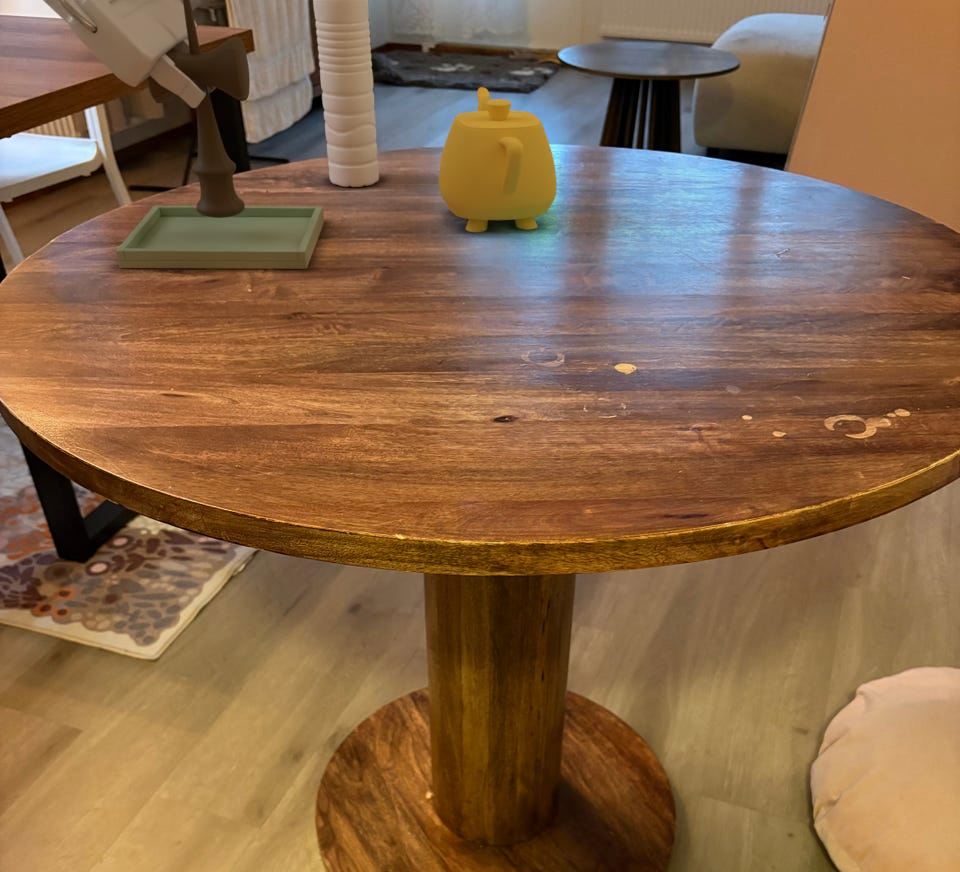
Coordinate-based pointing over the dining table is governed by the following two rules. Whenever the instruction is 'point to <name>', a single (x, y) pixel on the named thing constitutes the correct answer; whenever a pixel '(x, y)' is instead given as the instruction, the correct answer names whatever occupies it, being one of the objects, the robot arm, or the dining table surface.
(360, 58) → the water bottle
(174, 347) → the dining table surface
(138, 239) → the serving tray
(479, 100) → the teapot
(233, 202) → the kendama
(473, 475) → the dining table surface
